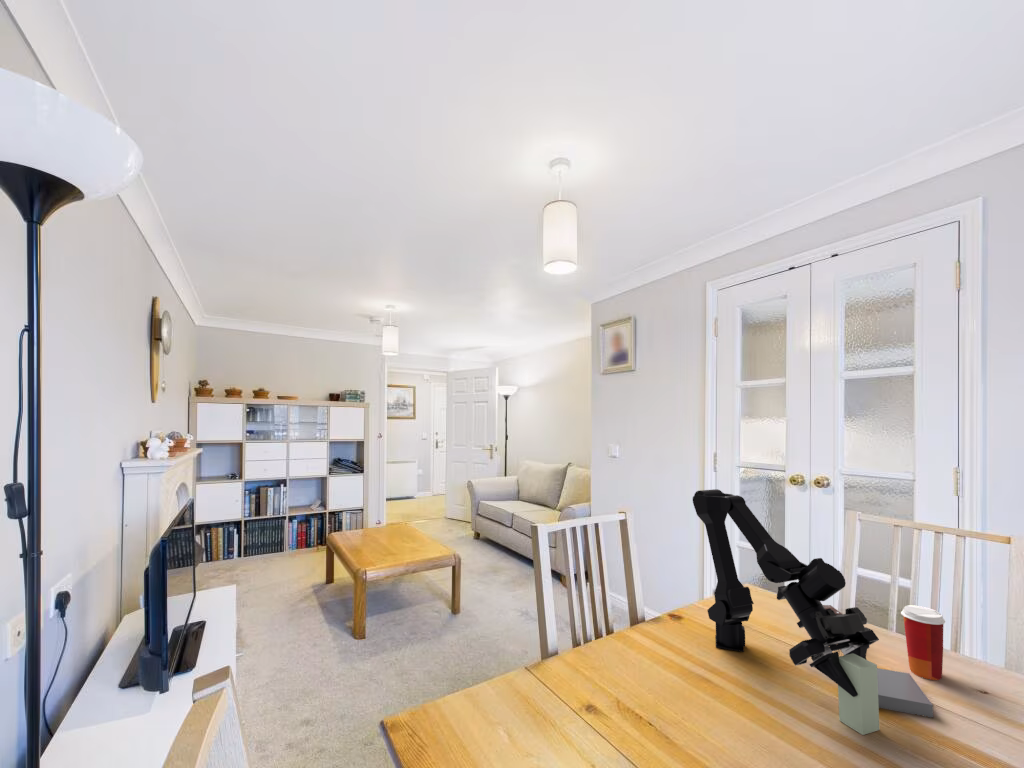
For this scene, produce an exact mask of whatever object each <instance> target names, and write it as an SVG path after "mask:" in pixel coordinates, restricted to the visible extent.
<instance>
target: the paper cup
mask: <svg viewBox="0 0 1024 768" xmlns="http://www.w3.org/2000/svg"><path fill="white" fill-rule="evenodd" d="M900 615H901V616H903V624H904V632H905V634H904V635H905V643H906V649H907V651H906V652H907V658H908V659H907V660H908V666H909V667H908V668H909V670H911V671H910V672H911V673H912V674H913V675H915V676H918V677H919V678H922V677H923V678H922V679H925V680H929V679H930V681H941V680H942V678H943V666H944V665H943V660H944V659H943V658H944V624H945V623H946V620H945V619H944V616H943V615H942V614H941V613H940V612H939V611H937V610H935V609H933V608H929V607H927V606H926V607H925V606H921V605H914V604H913V605H909V604H908V605H905V606H904V607H903V608H902V611H901V612H900Z"/></svg>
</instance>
